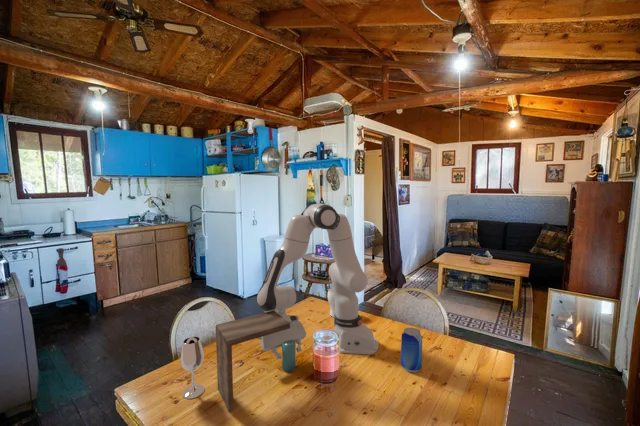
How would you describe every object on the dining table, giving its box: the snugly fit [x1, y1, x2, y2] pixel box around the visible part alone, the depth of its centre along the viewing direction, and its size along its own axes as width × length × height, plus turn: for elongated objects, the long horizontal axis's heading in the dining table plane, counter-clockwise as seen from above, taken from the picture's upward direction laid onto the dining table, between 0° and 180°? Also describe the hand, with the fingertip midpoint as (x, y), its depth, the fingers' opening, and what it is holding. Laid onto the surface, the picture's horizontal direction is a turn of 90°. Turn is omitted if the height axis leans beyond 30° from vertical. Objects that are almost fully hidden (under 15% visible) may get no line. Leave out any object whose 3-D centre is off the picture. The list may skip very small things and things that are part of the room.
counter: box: [215, 311, 290, 413], centre depth 111 cm, size 14×24×25 cm, turn 124°
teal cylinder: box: [281, 340, 297, 373], centre depth 124 cm, size 6×6×11 cm
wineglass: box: [180, 336, 205, 400], centre depth 109 cm, size 8×8×20 cm
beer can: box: [400, 327, 424, 373], centre depth 124 cm, size 8×8×16 cm
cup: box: [327, 287, 335, 318], centre depth 176 cm, size 11×11×15 cm
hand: (289, 355), depth 123 cm, fingers open, 8 cm apart
